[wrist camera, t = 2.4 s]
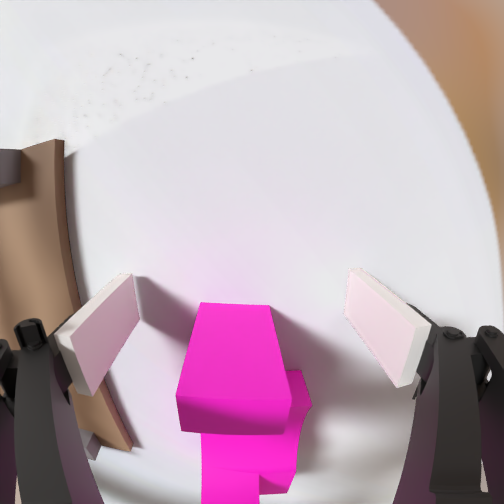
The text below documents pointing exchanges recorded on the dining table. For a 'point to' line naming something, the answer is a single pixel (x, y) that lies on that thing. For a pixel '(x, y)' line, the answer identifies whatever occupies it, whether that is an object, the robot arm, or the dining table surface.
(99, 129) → the dining table surface
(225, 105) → the dining table surface
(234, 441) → the toy block
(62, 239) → the wooden serving tray
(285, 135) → the dining table surface
